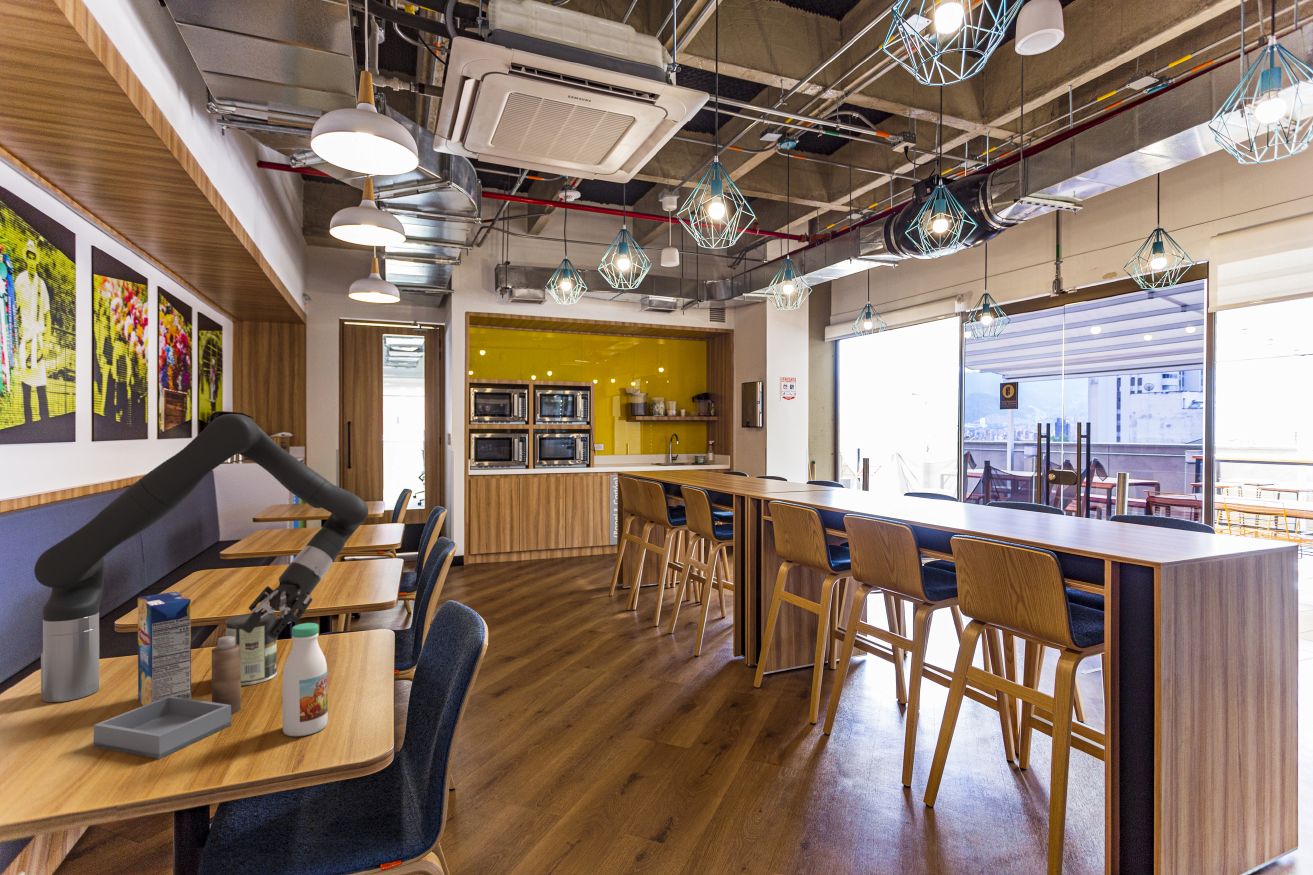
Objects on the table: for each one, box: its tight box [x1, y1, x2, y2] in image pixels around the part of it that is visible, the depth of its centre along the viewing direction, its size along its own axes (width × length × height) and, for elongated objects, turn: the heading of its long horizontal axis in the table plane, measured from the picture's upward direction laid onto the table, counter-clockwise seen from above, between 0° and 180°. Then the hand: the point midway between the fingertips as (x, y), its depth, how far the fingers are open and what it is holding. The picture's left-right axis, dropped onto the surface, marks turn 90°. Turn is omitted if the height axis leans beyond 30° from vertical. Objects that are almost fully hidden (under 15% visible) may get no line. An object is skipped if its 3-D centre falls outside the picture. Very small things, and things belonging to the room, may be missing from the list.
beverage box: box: [137, 591, 192, 706], centre depth 141 cm, size 7×11×22 cm, turn 49°
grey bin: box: [93, 696, 232, 760], centre depth 125 cm, size 16×14×4 cm
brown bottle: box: [211, 635, 242, 715], centre depth 136 cm, size 5×5×15 cm
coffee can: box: [225, 612, 278, 687], centre depth 155 cm, size 10×10×14 cm
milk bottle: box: [281, 622, 329, 737], centre depth 128 cm, size 8×8×20 cm
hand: (257, 633), depth 142 cm, fingers open, 8 cm apart
